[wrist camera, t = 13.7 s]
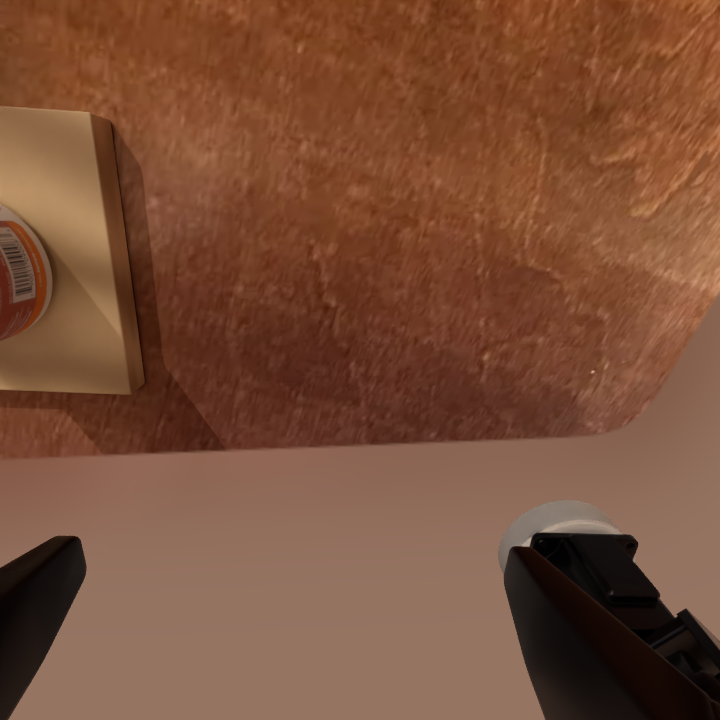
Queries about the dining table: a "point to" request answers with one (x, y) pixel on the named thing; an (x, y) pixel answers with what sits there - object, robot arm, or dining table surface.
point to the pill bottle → (21, 276)
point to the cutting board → (71, 254)
